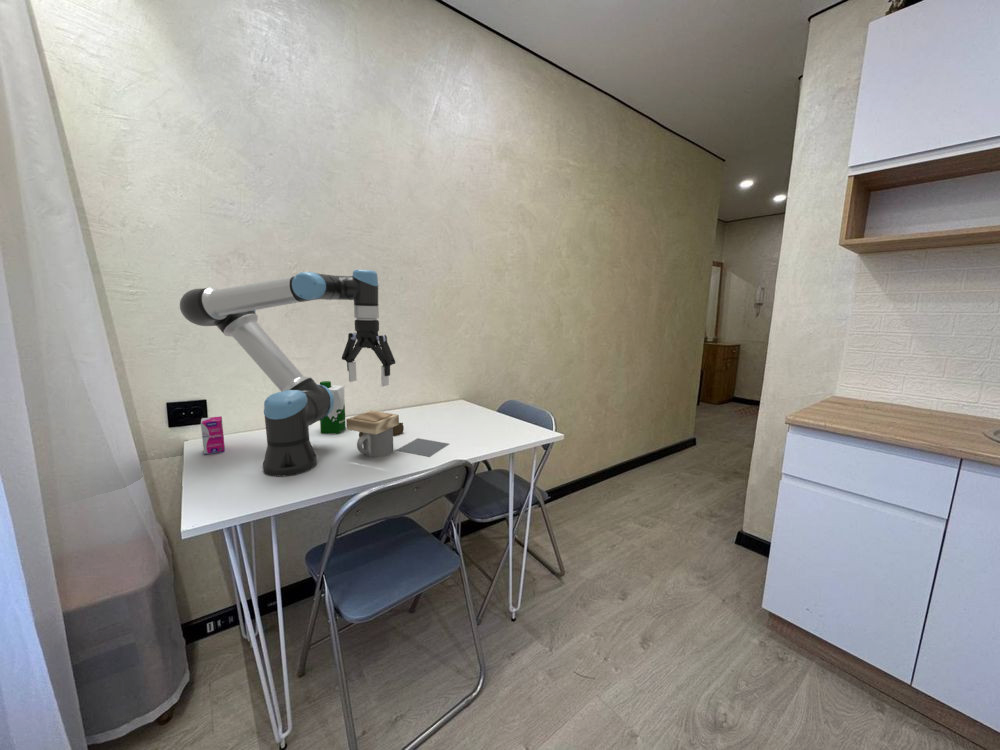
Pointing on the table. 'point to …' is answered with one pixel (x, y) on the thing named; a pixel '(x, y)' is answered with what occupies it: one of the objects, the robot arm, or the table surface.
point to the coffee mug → (376, 444)
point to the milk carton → (334, 411)
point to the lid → (372, 422)
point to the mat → (423, 447)
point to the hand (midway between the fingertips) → (368, 383)
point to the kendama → (396, 430)
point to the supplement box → (212, 435)
